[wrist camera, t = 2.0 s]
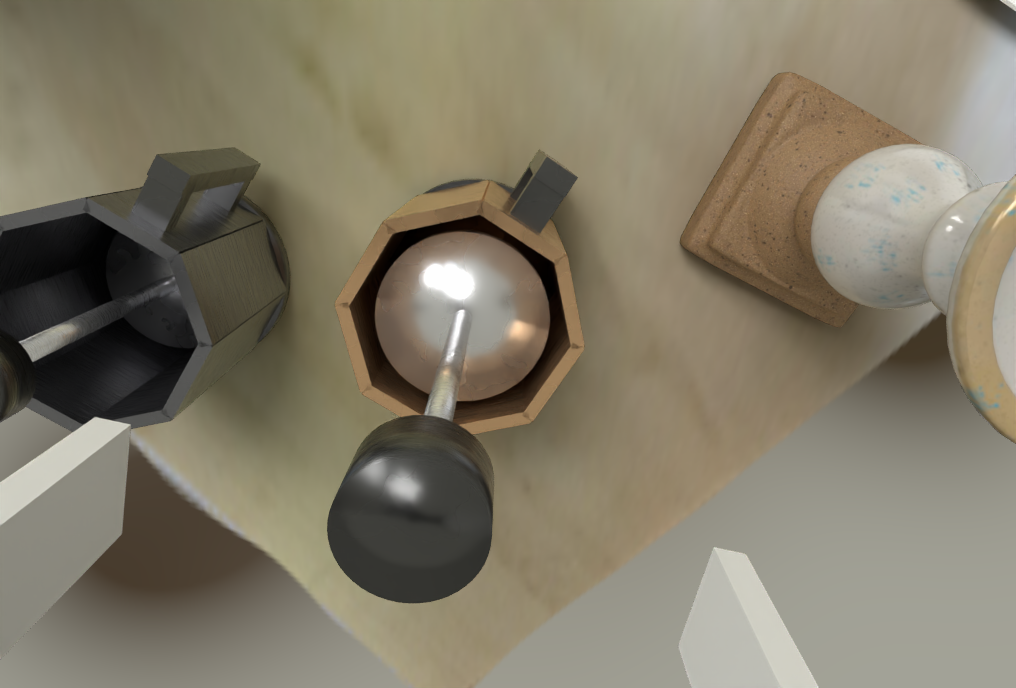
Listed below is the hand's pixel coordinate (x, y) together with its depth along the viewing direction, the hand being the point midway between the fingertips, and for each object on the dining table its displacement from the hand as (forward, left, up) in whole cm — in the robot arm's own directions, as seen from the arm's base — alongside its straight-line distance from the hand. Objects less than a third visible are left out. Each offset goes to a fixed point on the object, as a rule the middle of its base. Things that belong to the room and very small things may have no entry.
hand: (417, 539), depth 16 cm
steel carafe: (-14, -8, -29) cm, 33 cm away
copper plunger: (0, 0, -18) cm, 18 cm away
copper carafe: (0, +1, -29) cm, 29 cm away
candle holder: (+14, +14, -29) cm, 35 cm away
